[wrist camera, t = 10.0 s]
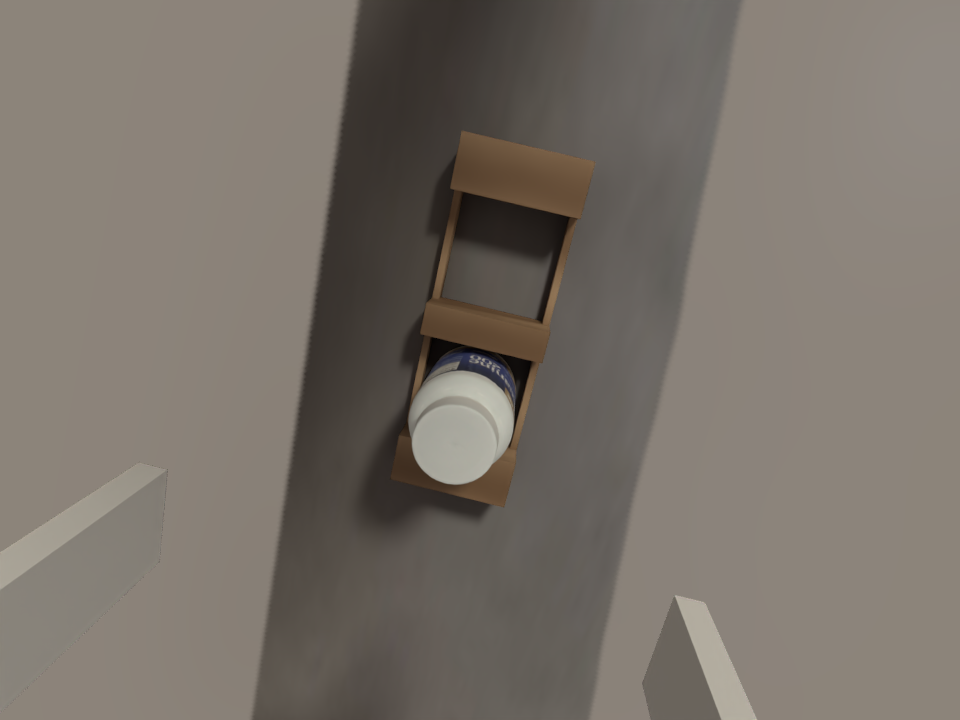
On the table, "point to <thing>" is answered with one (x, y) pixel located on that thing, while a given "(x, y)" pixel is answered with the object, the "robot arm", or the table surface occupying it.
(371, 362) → the table surface
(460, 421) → the pill bottle
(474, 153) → the brown wooden rack
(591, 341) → the table surface
